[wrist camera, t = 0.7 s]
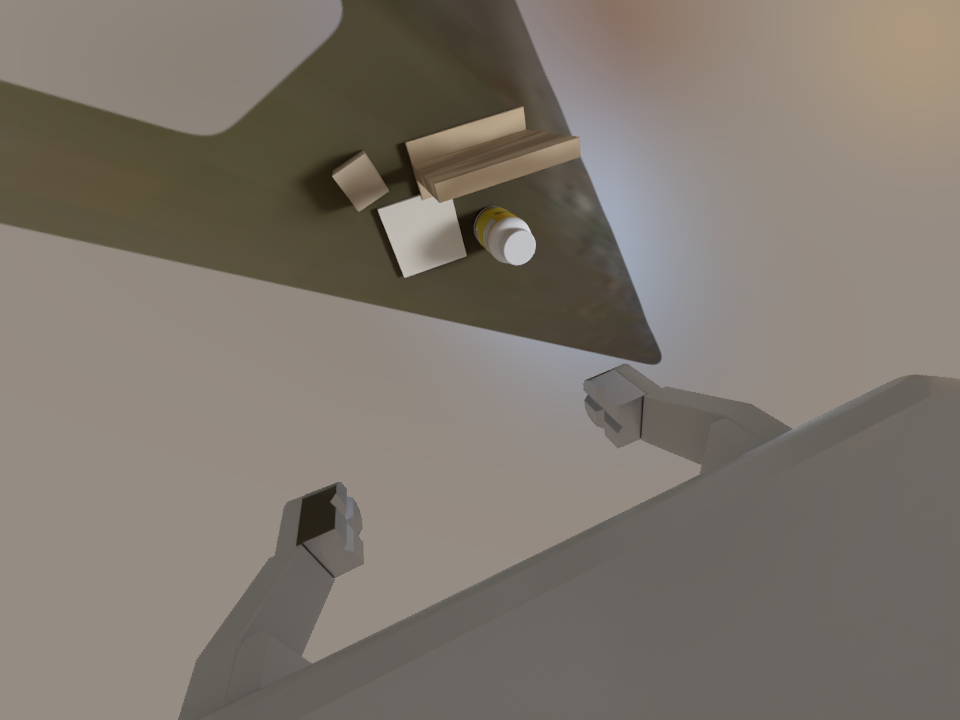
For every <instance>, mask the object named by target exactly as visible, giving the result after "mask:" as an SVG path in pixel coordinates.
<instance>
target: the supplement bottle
mask: <svg viewBox="0 0 960 720" xmlns="http://www.w3.org/2000/svg"><path fill="white" fill-rule="evenodd" d="M474 234H475V237H476V239H477V240H478V242H479V243H480V244H481V245H482V246H483V247H484V248H485V249H486V250H487V251H488V252H489V253H490V254H491V255H492V256H493V257H494V258H496V259H497V260H498V261H500V262H503V263H510V264H512V265H522V264H524V263H526V262H527V261H529V260H530V258H531V257H532V256H533V254H534V252H535V247H536V243H535V239H534V237H533V235H532V234H531V232H530V229H529V227H528V226H527V224H526V223H525V222H524V221H522V220H521V219H520V218H518V217H516V216H515V215H513V214H512V213H510V212H508V211H507V210H505V209H503V208H501V207H498V206H490V207H487V208H485V209H483V210H482V211H481V212H480V213H479V214H478V216H477V218H476V220H475V223H474Z"/></svg>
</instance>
